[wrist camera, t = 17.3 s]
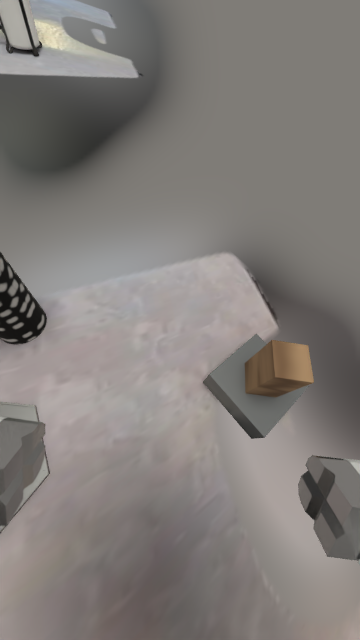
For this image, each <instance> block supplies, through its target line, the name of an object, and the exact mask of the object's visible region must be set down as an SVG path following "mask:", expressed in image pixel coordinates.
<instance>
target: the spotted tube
mask: <svg viewBox="0 0 360 640" xmlns="http://www.w3.org/2000/svg"><path fill="white" fill-rule="evenodd" d="M46 320H47V318H46V314H45V312H44V311H43V309H42V308H41V306H40V305H39V304H38V302H37V301H36V300H35V298H34V297H33V296H32V294H31V293H30V292H29V290H28V289H27V287H26V286H25V285H24V283H23V282H22V281H21V279H20V278H19V277H18V275H17V274H16V272H15V271H14V270H13V268H12V267H11V266H10V264H9V263H8V262H7V260H6V259H5V258H4V256H3V255H2V253H1V252H0V339H2V340H3V341H5V342H7V343H10V344H22V343H26V342H29V341H31V340H33V339H34V338H36V337H37V336H38V335H39V334H41V332H42V331H43V330H44V328H45V325H46Z"/></svg>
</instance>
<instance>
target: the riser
mask: <svg viewBox="0 0 360 640" xmlns="http://www.w3.org/2000/svg"><path fill="white" fill-rule="evenodd" d="M265 345H267V344H266V343H265V342H264V341H263V340H262V339H261V338H260V337H259V336H258V335H257V334H255V335H254V336H253V337H252V338H251V339H250V340H248V341H247V342H246V343H245V344H244V345H243V346H242V347H240V348H239V349H238V350H237V351H236V352H235V353H234V354H232V355H231V356H230V357H229V358H228V359H227V360H226V361H224V362H223V363H222V364H221V365H220V366H219V367H217V368H216V369H215V370H214V371H213V372H212V373H211V374H209V376H208V377H207V378H206V379H205V380H204V381H203V383H204V384H205V385H206V386H207V387H208V388H209V390H210V391H211V392H212V393H213V394H214V395H215V397H216V398H217V399H218V400H219V401H220V402H221V404H222V405H223V406H224V407H225V408H226V409H227V411H228V412H229V413H230V414H231V415H232V416H233V418H234V419H235V420H236V421H237V422H238V423H239V425H240V426H241V427H242V428H243V429H244V430H245V432H246V433H247V434H248V435H249V436H250V437H251V438H252V439H253V438H264V437H265V436H266V435H267V434H268V433H269V432H270V431H271V429H272V428H273V427H274V426H275V425H276V424H277V422H278V421H279V420H280V419H281V418H282V417H283V416H284V414H285V413H286V412H287V411H288V410H289V409H290V407H291V406H292V405H293V404H294V403H295V402H296V400H297V399H298V398H299V397H300V396H301V395H302V393H303V392H304V391H305V390H306V389H307V388H308V387H309V386H308V385H307V386H304V387H301V388H299V389H296V390H294V391H291V392H289V393H286V394H283V395H281V396H278V397H268V396H261V395H254V394H247V393H245V362H247V361H248V360H249V359H250V358H251V357H253V356H254V355H255V354H256V353H257V352H258V351H260V350H261V349H262V348H263V347H264V346H265Z"/></svg>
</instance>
